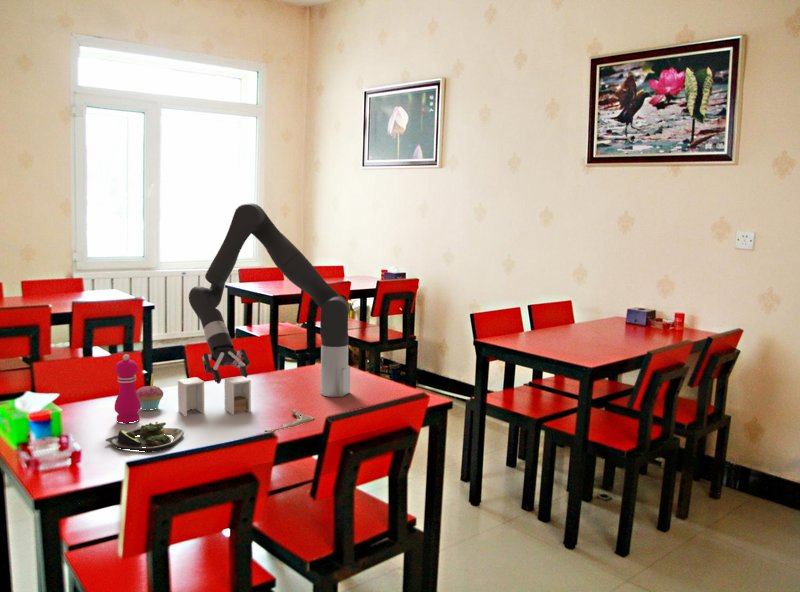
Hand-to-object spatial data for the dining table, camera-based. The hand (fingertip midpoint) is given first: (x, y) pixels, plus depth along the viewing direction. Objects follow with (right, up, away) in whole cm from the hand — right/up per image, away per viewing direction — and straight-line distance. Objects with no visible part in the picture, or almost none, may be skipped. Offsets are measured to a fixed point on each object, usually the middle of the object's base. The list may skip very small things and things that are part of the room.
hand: (232, 380), depth 218 cm
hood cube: (+2, -9, -2) cm, 10 cm away
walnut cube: (+2, -9, -2) cm, 10 cm away
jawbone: (+18, -12, -12) cm, 25 cm away
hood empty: (-11, -9, -5) cm, 15 cm away
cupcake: (-25, -9, -2) cm, 27 cm away
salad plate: (-16, -13, -30) cm, 37 cm away
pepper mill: (-27, -10, -14) cm, 32 cm away
